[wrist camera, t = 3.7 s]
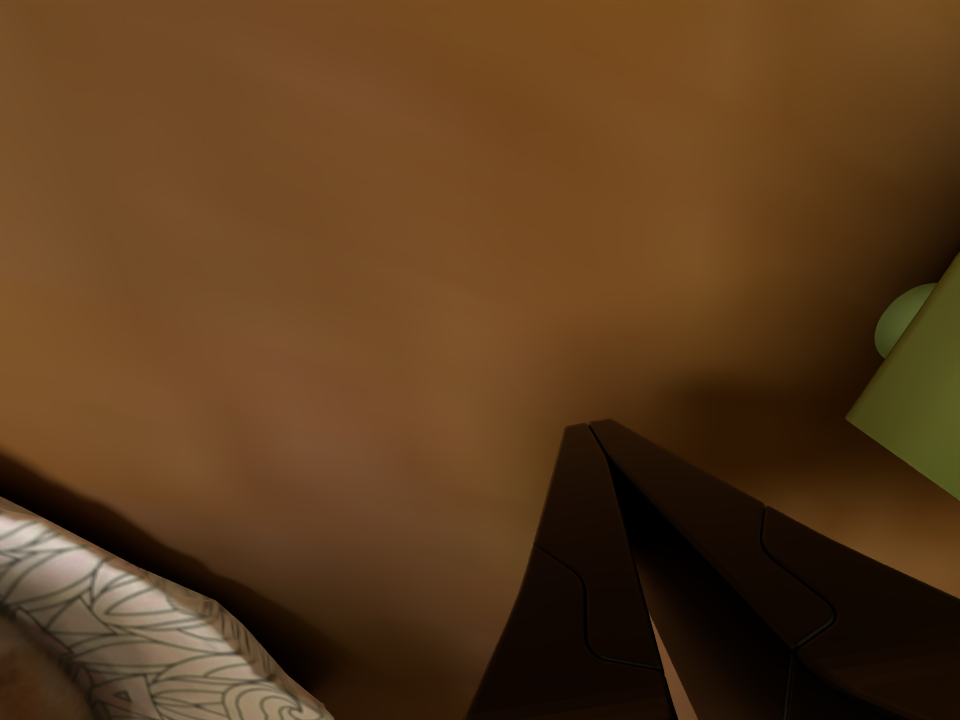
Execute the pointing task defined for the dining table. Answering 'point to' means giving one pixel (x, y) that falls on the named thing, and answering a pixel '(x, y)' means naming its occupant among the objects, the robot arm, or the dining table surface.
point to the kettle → (918, 381)
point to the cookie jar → (122, 640)
